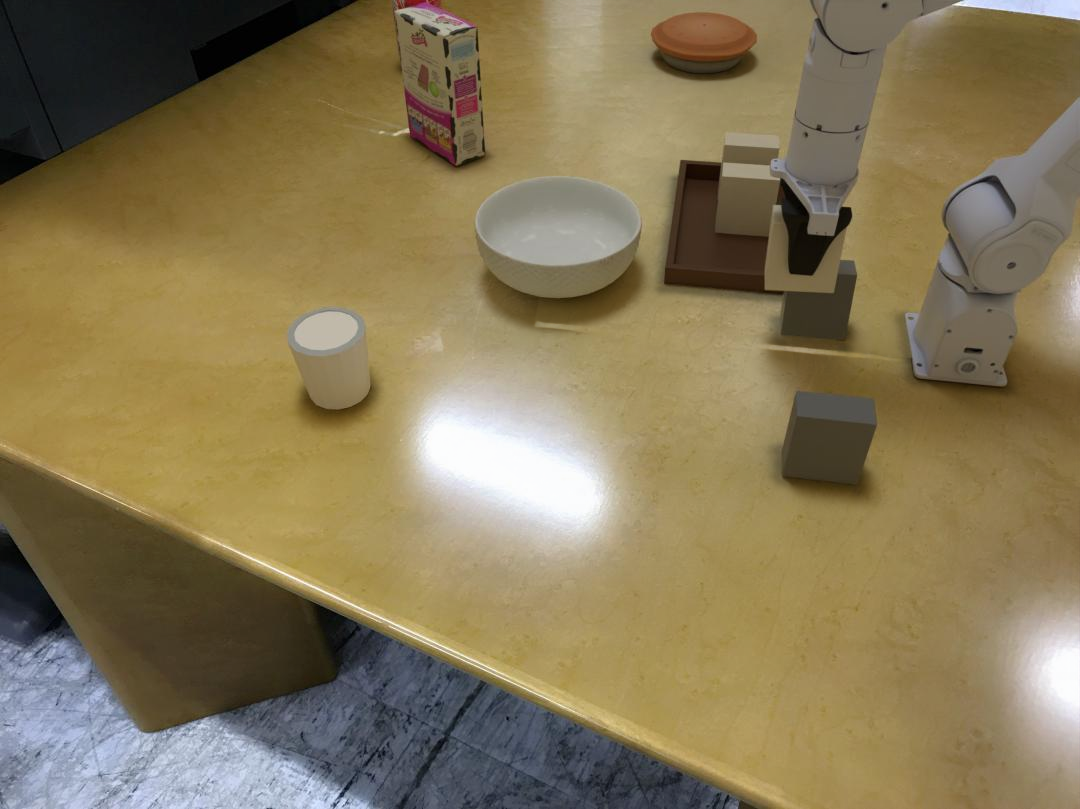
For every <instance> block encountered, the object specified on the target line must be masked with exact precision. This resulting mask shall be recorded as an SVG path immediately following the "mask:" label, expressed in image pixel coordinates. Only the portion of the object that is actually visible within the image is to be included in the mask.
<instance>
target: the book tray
mask: <svg viewBox="0 0 1080 809" xmlns="http://www.w3.org/2000/svg"><path fill="white" fill-rule="evenodd" d="M721 162H722V161H721ZM721 162H719V161H705V160H689V159H680V160H679V166H678V174H677V182H676V187H675V195H674V203H673V210H672V216H671V224H670V232H669V238H668V244H667V245H668V246H667V251H666V252H667V253H666V260H665V267H664V277H663V284H664V285H675V286H676V285H677V286H687V287H696V288H697V287H698V288H708V289H709V288H710V289H711V288H712V289H720V290H731V291H732V290H733V291H743V292H754V293H767V294H775V295H783V293H784V291H778V290H765V263H766V256H767V248H768V240H769V237H763V236H751V235H738V234H726V233H715V224H716V214H717V206H718V200H717V198H718V186H719V178H720V170H721ZM782 198H785V194H784V191H783V188H782V185H781V182H780V185H779V190H778V195H777V201H776V205H781V200H782Z"/></svg>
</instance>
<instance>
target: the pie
mask: <svg viewBox="0 0 1080 809" xmlns="http://www.w3.org/2000/svg"><path fill="white" fill-rule="evenodd" d="M650 32H651V33H650V37H651V40H652V42H653V43H654V45H655V46H656V47H657V48H658V51H659V54H660V55H661V57H662V59H663V60H664V62H665V63H666V64H667V65H668V66H670V67H672V68H674V69H676V70H678V71H682V72H685V73H692V74H717V73H721V72H725V71H728V70H730V69H732V68H734V67H735V66H736V65H738V63H739V62H740V61H741V59H742V58H743V57H744V55H745V54H746V53H747V52H749V50H751V49H752V48H753V47H754V46H755V44H757V42H758V35H757V33H756V31H755V29H753V28H752V27H751V26H749V25H748V24H746V23H745V22H742V21H741V20H740V19H738V18H736V17H733V16H731V15H726V14H722V13H716V12H707V11H705V12H703V11H702V12H701V11H699V12H698V11H697V12H695V11H694V12H687V13H686V12H685V13H681V14H676V15H673V16H671V17H669V18H667V19H665V20H663V21H661V22H659V23H658V24H656V25H655V26H654V27H652V29H651V31H650Z"/></svg>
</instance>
